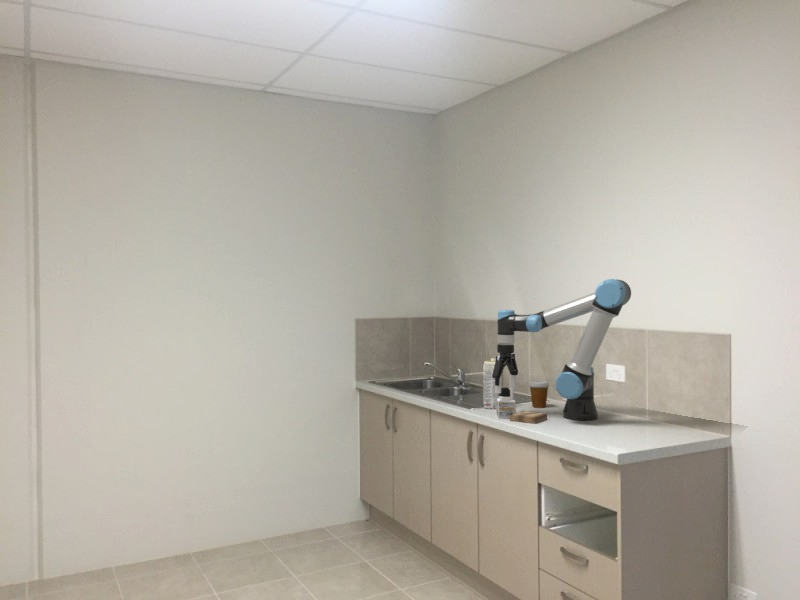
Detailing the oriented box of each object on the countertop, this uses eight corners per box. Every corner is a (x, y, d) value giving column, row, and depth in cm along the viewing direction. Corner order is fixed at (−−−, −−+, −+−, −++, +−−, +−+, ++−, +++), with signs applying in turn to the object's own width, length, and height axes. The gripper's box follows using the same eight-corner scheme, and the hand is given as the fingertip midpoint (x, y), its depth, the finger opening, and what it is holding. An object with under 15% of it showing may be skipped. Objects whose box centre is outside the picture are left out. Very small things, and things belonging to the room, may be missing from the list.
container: (498, 418, 311) (498, 389, 311) (496, 415, 319) (496, 386, 319) (515, 418, 311) (515, 389, 311) (513, 415, 319) (513, 386, 318)
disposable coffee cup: (525, 405, 344) (525, 381, 343) (543, 405, 346) (543, 380, 346) (534, 409, 334) (534, 384, 334) (552, 408, 337) (552, 383, 336)
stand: (547, 419, 307) (547, 413, 307) (535, 423, 298) (535, 417, 298) (522, 416, 315) (522, 410, 315) (509, 420, 305) (509, 414, 305)
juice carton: (503, 407, 341) (503, 357, 340) (501, 409, 333) (501, 359, 333) (484, 406, 343) (484, 357, 343) (482, 409, 336) (482, 359, 335)
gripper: (511, 341, 327) (510, 387, 327) (484, 345, 307) (484, 393, 307) (525, 342, 322) (525, 388, 323) (499, 346, 302) (499, 395, 303)
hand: (505, 391), depth 315 cm, fingers open, 13 cm apart
